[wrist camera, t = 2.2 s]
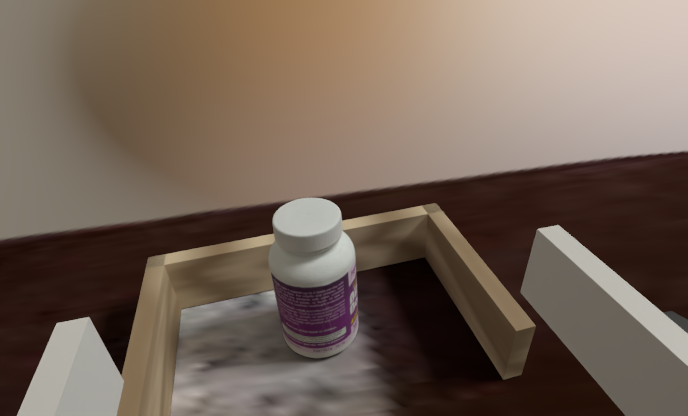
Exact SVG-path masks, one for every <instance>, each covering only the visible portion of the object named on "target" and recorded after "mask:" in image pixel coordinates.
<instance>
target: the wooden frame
mask: <svg viewBox="0 0 688 416" xmlns="http://www.w3.org/2000/svg"><path fill="white" fill-rule="evenodd" d="M342 226H343V232H345V233H346V234H347V235H348V237H349V238H350V239H351V241H352V243H353V245H354V249H355V256H356V272H358V271H363V270H367V269H372V268H377V267H381V266H386V265H391V264H396V263H400V262H405V261H410V260H414V259H419V258H424V257H425V258H426V260H427V261H428V263H429V264H430V266H431V268H432V269H433V271H434V272H435V274H436V275H437V277H438V278H439V280H440V282H441V283H442V285H443V286H444V288H445V289H446V291H447V292H448V294H449V296H450V297H451V299H452V300H453V302H454V303H455V305H456V307H457V308H458V310H459V311H460V313H461V314H462V316H463V317H464V319H465V321H466V322H467V324H468V325H469V327H470V328H471V330H472V331H473V333H474V335H475V336H476V338H477V339H478V341H479V342H480V344H481V346H482V347H483V349H484V350H485V352H486V353H487V355H488V356H489V358H490V360H491V361H492V363H493V364H494V366H495V367H496V369H497V370H498V372H499V374H500V375H501V377H502V378H503V380H504V379H508V378H511V377H515V376H519V375H521V374H522V371H523V367H524V364H525V361H526V357H527V354H528V351H529V347H530V344H531V341H532V337H533V334H534V331H535V327H536V326H535V324H534V323H533V322H532V321H531V319H530V318H529V317H528V316H527V314H526V313H525V312H524V311H523V310H522V308H521V307H520V306H519V305H518V303H517V302H516V301H515V300H514V299H513V297H512V296H511V295H510V294H509V292H508V291H507V290H506V289H505V287H504V286H503V285H502V284H501V283H500V281H499V280H498V279H497V278H496V276H495V275H494V274H493V273H492V271H491V270H490V269H489V268H488V267H487V265H486V264H485V263H484V262H483V260H482V259H481V258H480V257H479V256H478V254H477V253H476V252H475V251H474V249H473V248H472V247H471V246H470V244H469V243H468V242H467V241H466V240H465V238H464V237H463V236H462V235H461V233H460V232H459V231H458V230H457V228H456V227H455V226H454V225H453V224H452V222H451V221H450V220H449V219H448V217H447V216H446V215H445V214H444V213H443V211H442V210H441V209H440V208H439V206H438V205H437V204H436V203H434V204H429V205H423V206H418V207H413V208H407V209H402V210H397V211H392V212H386V213H381V214H376V215H371V216H365V217H360V218H355V219H349V220H344V221H342ZM274 241H275V237H274V234H270V235H265V236H260V237H254V238H249V239H244V240H238V241H233V242H228V243H223V244H217V245H212V246H207V247H201V248H196V249H191V250H186V251H180V252H175V253H170V254H164V255H159V256H154V257H149V258H148V262H147V266H146V270H145V275H144V279H143V284H142V288H141V292H140V297H139V301H138V306H137V310H136V314H135V319H134V323H133V328H132V332H131V336H130V341H129V345H128V350H127V354H126V359H125V363H124V367H123V372H122V376H121V377H122V378H123V380H124V384H123V389H122V393H121V398H120V402H119V407H118V411H117V416H170V411H171V402H172V392H173V383H174V373H175V364H176V355H177V345H178V336H179V326H180V317H181V309H184V308H188V307H193V306H198V305H203V304H207V303H212V302H217V301H221V300H226V299H231V298H236V297H240V296H245V295H250V294H254V293H259V292H264V291H268V290H273V289H274V287H273V283H272V278H271V273H270V269H269V263H268V256H269V251H270V248H271V246H272V244H273V243H274Z"/></svg>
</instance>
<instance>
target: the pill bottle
mask: <svg viewBox="0 0 688 416" xmlns="http://www.w3.org/2000/svg"><path fill="white" fill-rule="evenodd" d="M272 223H273V230H274V237H275V241H274V243H273V244H272V246H271V248H270V251H269V256H268V263H269V269H270V273H271V278H272V283H273V287H274V292H275V297H276V301H277V306H278V311H279V316H280V321H281V326H282V331H283V336H284V339H285V341H286V343H287V344H288V346H289V347H290V348H291V349H292V350H293V351H295V352H296V353H298V354H300V355H303V356H306V357H311V358H324V357H329V356H332V355H335V354H337V353H339V352H341V351H343V350H344V349H346V348H347V347H348V346H349V345H350V344H351V343H352V341H353V340H354V338H355V336H356V333H357V330H358V299H357V277H356V256H355V249H354V245H353V243H352V241H351V239H350V238H349V237H348V235H347V234H346V233H345V232H343V226H342V217H341V211H340V209H339V208H338V206H337V205H336V204H334V203H332V202H331V201H328V200H325V199H321V198H303V199H297V200H294V201H291V202H289V203H287V204H285V205H283V206H282V207H280V208H279V209H278V210H277V211H276V212H275V214H274V216H273V220H272Z"/></svg>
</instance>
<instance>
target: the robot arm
mask: <svg viewBox="0 0 688 416" xmlns="http://www.w3.org/2000/svg"><path fill="white" fill-rule="evenodd" d="M521 294H522V295H523V296H524V297H525V298H526V299H527V301H528V302H529V303H530V304H531V305H532V306H533V308H534V309H535V310H536V311H537V312H538V313H539V315H540V316H541V317H542V318H543V319H544V321H545V322H546V323H547V324H548V325H549V326H550V328H551V329H552V330H553V331H554V332H555V333H556V335H557V336H558V337H559V338H560V339H561V340H562V342H563V343H564V344H565V345H566V346H567V347H568V349H569V350H570V351H571V352H572V353H573V355H574V356H575V357H576V358H577V359H578V360H579V362H580V363H581V364H582V365H583V366H584V367H585V369H586V370H587V371H588V372H589V373H590V374H591V376H592V377H593V378H594V379H595V380H596V381H597V383H598V384H599V385H600V386H601V387H602V389H603V390H604V391H605V392H606V393H607V394H608V396H609V397H610V398H611V399H612V400H613V401H614V403H615V404H616V405H617V406H618V407H619V408H620V410H621V411H622V412H623V413H624V414H625V415H626V416H688V320H687V319H685V318H683V317H682V316H680V315H678V314H676V313H674V312H672V311H669V312H665V313H663V312H661V311H660V310H659V309H658V308H657V307H655V306H654V305H653V304H652V303H651V302H649V301H648V300H647V299H646V298H645V297H644V296H642V295H641V294H640V293H639V292H638V291H636V290H635V289H634V288H633V287H632V286H630V285H629V284H628V283H627V282H626V281H624V280H623V279H622V278H621V277H620V276H619V275H617V274H616V273H615V272H614V271H613V270H611V269H610V268H609V267H608V266H607V265H605V264H604V263H603V262H602V261H601V260H599V259H598V258H597V257H596V256H595V255H594V254H592V253H591V252H590V251H589V250H588V249H586V248H585V247H584V246H583V245H582V244H580V243H579V242H578V241H577V240H576V239H575V238H573V237H572V236H571V235H570V234H569V233H567V232H566V231H565V230H564V229H563V228H561V227H560V226H559V225H556V226H551V227H546V228H540V229H537V232H536V236H535V239H534V243H533V247H532V251H531V254H530V258H529V262H528V265H527V269H526V273H525V277H524V280H523V284H522V288H521ZM123 384H124V380H123V378H122V377H121V375H120V373H119V371H118V369H117V367H116V366H115V364H114V362H113V360H112V358H111V356H110V355H109V353H108V351H107V349H106V347H105V345H104V344H103V342H102V340H101V338H100V336H99V334H98V332H97V331H96V329H95V327H94V325H93V323H92V321H91V320H90V318H89V317H86V318H81V319H76V320H71V321H66V322H61V323H57V324H56V326H55V328H54V331H53V333H52V335H51V338H50V340H49V342H48V345H47V347H46V349H45V352H44V354H43V356H42V359H41V361H40V363H39V366H38V368H37V370H36V372H35V375H34V377H33V379H32V382H31V384H30V386H29V389H28V391H27V393H26V396H25V398H24V400H23V403H22V405H21V407H20V410H19V412H18V414H17V416H117V411H118V407H119V402H120V398H121V393H122V389H123Z"/></svg>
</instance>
